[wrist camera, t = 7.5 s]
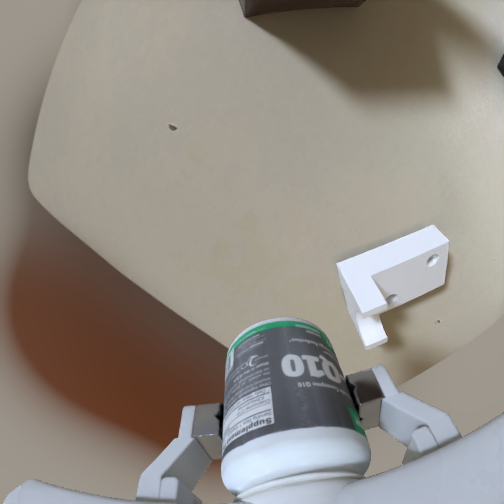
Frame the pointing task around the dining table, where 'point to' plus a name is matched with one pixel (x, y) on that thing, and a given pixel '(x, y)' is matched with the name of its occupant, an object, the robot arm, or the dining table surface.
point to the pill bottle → (289, 417)
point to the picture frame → (501, 66)
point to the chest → (291, 5)
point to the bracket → (391, 278)
